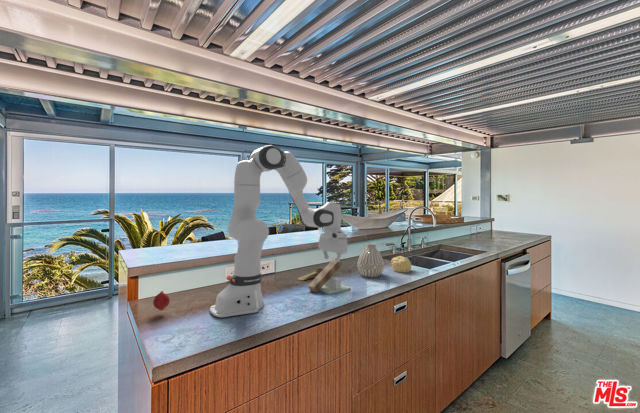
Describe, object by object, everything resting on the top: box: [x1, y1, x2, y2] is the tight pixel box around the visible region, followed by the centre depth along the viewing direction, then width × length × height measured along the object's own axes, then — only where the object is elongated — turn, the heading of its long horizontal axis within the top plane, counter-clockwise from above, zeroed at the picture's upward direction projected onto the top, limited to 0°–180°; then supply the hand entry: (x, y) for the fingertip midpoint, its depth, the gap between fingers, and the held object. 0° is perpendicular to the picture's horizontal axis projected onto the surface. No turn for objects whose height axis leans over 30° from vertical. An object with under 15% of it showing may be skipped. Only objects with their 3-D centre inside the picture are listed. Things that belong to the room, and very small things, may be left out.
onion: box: [152, 290, 170, 311], centre depth 121 cm, size 6×6×8 cm
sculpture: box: [390, 255, 412, 273], centre depth 189 cm, size 11×12×11 cm
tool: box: [297, 268, 324, 281], centre depth 173 cm, size 22×6×5 cm, turn 114°
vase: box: [356, 243, 385, 278], centre depth 178 cm, size 16×16×20 cm
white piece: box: [319, 275, 352, 295], centre depth 152 cm, size 14×13×6 cm
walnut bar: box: [307, 258, 343, 293], centre depth 153 cm, size 22×3×5 cm
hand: (331, 260), depth 152 cm, fingers open, 8 cm apart
